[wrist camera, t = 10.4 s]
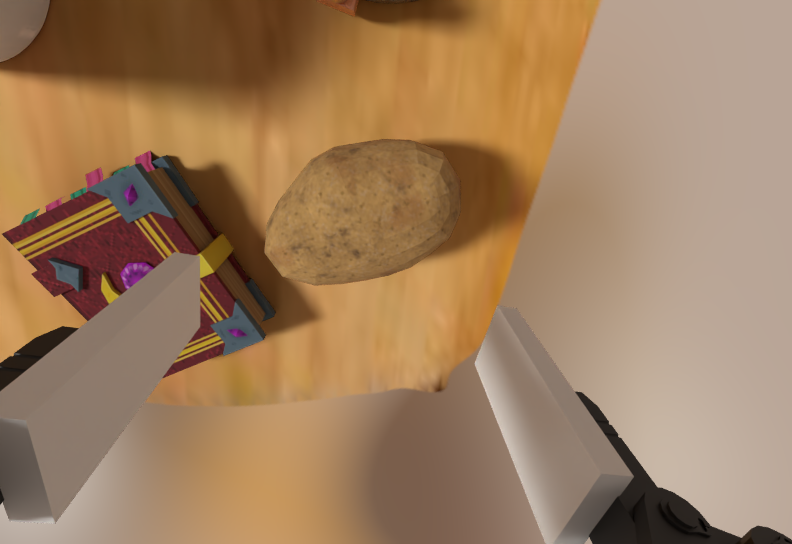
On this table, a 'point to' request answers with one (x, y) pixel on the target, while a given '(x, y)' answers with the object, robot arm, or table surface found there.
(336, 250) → the potato
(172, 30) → the table surface
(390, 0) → the base plate
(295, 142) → the table surface
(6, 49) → the utensil holder
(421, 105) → the table surface
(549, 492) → the robot arm
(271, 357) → the table surface
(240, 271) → the decorative book
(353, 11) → the sprocket
